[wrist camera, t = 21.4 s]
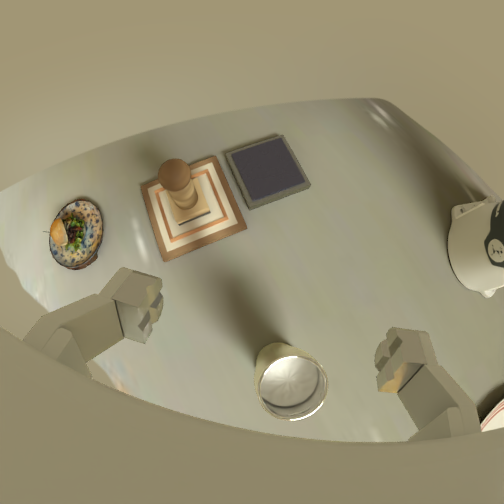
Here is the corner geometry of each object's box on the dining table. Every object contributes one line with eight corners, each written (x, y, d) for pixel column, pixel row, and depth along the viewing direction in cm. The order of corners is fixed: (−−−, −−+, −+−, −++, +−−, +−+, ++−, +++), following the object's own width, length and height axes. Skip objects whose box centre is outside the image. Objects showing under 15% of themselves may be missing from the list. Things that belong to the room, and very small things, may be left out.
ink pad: (282, 139, 46) (283, 133, 44) (309, 188, 44) (311, 183, 42) (226, 157, 45) (225, 152, 43) (249, 210, 43) (249, 205, 41)
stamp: (199, 184, 43) (184, 142, 31) (210, 212, 42) (197, 176, 30) (169, 197, 42) (145, 159, 31) (179, 225, 41) (155, 193, 30)
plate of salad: (109, 264, 41) (85, 253, 34) (54, 275, 41) (27, 267, 33) (107, 195, 44) (87, 176, 37) (55, 210, 43) (31, 196, 36)
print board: (216, 158, 45) (215, 154, 44) (247, 228, 42) (246, 226, 41) (142, 189, 44) (139, 185, 42) (165, 262, 41) (162, 260, 40)
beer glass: (252, 339, 39) (253, 353, 24) (301, 337, 39) (330, 349, 24) (253, 387, 37) (255, 424, 23) (302, 384, 37) (330, 418, 23)
